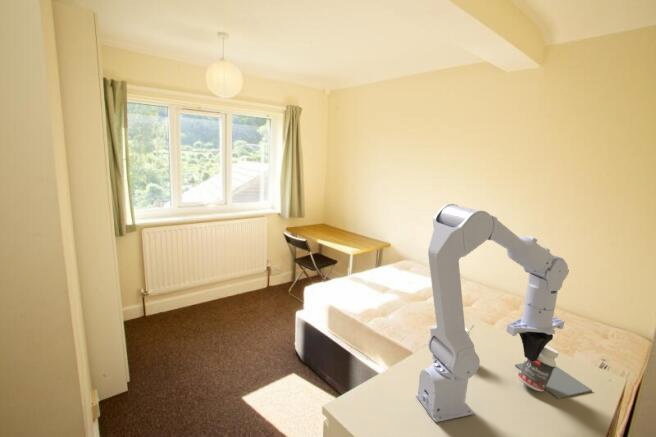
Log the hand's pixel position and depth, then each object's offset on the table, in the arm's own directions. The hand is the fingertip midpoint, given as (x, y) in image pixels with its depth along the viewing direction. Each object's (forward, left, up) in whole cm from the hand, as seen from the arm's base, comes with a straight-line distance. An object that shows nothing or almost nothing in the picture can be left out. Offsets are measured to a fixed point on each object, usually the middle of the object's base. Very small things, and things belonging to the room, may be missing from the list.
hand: (530, 358), depth 74 cm
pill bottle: (+1, 0, -7) cm, 7 cm away
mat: (+10, +2, -8) cm, 13 cm away
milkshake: (-8, +14, -8) cm, 18 cm away
